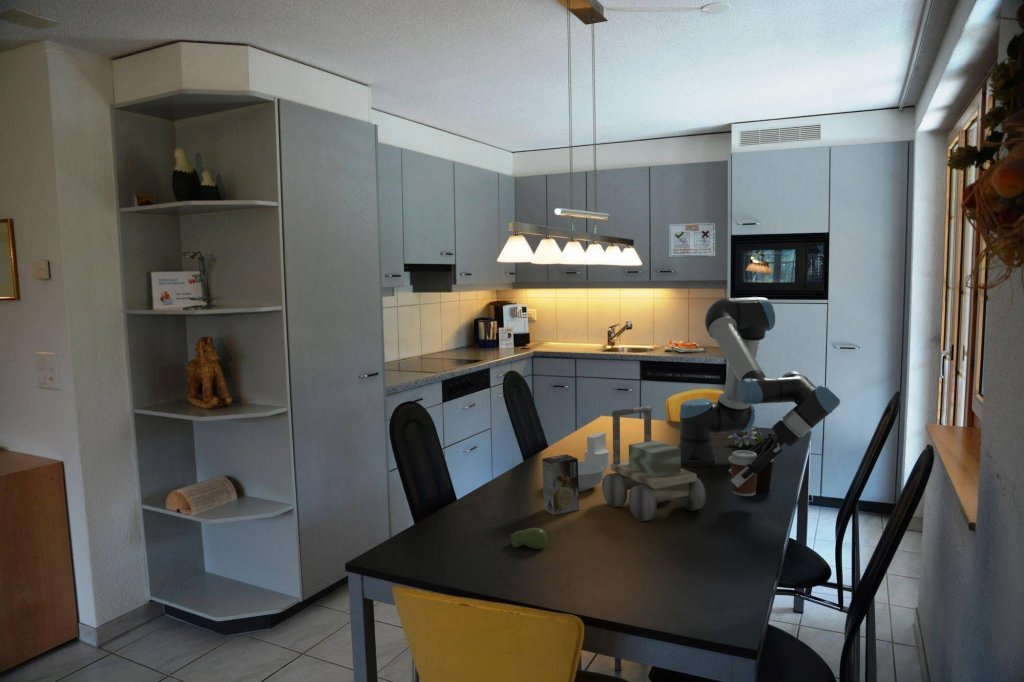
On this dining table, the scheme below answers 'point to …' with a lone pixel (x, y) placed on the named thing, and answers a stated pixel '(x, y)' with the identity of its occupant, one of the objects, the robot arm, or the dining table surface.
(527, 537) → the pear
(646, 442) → the wooden trolley
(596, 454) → the base with upright slab
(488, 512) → the dining table surface
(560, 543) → the dining table surface
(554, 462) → the coffee box
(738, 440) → the passion flower
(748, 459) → the coffee cup
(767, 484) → the coffee mug
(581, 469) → the cereal bowl
